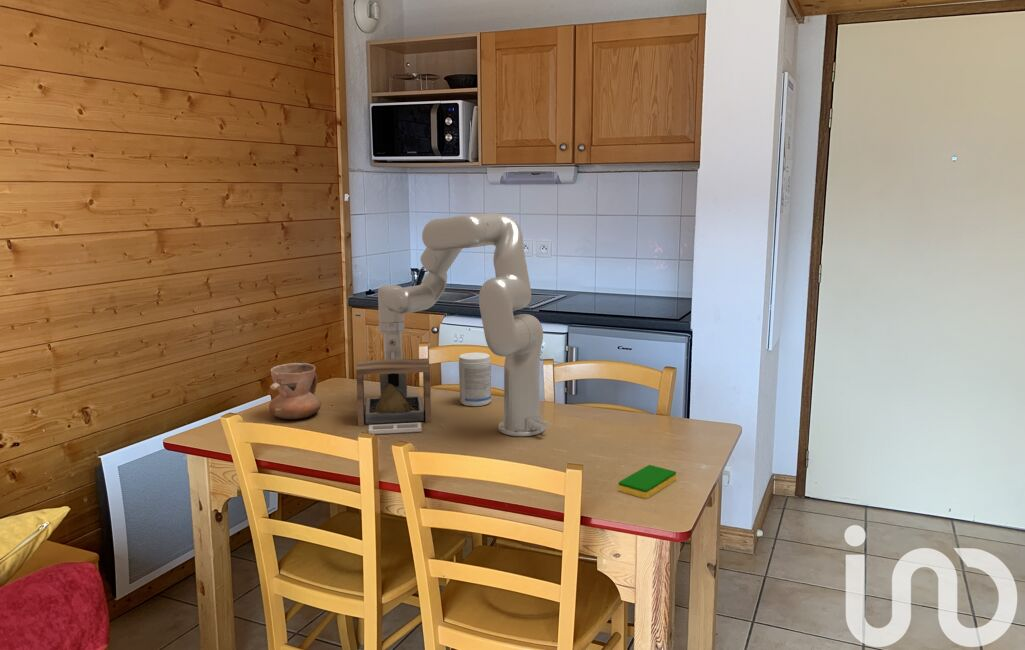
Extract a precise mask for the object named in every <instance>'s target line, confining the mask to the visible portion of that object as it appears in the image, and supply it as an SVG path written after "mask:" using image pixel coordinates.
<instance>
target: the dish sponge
mask: <svg viewBox="0 0 1025 650" xmlns="http://www.w3.org/2000/svg"><path fill="white" fill-rule="evenodd" d="M675 481H677V472H676V471H674V470H672V469H667V468H665V467H664V468H663V467H660V466H655V465H651V464H648V465H646V466H644V467H643V468H641V469H639V470H637V471H635V472H634V473H632V474H631V475H629V476H627V477H625V478H624V479H622V480H620V481H618V487H617V488H618V492H621V493H624V494H628V495H631V496H635V497H639V498H642V499H646V500H647V499H648V498H650V497H652V496H653V495H655V494H656V493H658V492H659V491H661V490H663V489H664V488H666V487H667V486H669V485H670V484H672V483H674V482H675Z"/></svg>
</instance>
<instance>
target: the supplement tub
mask: <svg viewBox="0 0 1025 650" xmlns="http://www.w3.org/2000/svg"><path fill="white" fill-rule="evenodd" d="M490 356H491V355H490V354H488V353H486V352H467V353H462V354H460V355H459V357H458V359H459V360H458V374H459V376H458V377H459V378H458V379H459V381H458V383H459V402H460V404H462V405H463V406H468V407H481V406H486V405H488V404H490V403H491V402H492V375H491V374H492V370H491V369H492V366H491V365H492V364H491V357H490Z"/></svg>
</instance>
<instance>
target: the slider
mask: <svg viewBox="0 0 1025 650" xmlns="http://www.w3.org/2000/svg"><path fill="white" fill-rule="evenodd" d="M379 379H380V380H379V381H380V382H379V383H380V384H379V385H380V386H379V387H380V394H381V393H382V392H383V389H384V388H385V386H386V384H387V383H388V374H379ZM407 381H408V380H407V373H399V386H398V387H396V388H397V389H398V390H399V391H400V392H401V393H402V394H403V395H404V396H405V398H406V399H407V400H408V401H409V403H410V406H411V407H415V406H416V407H417V408H418V410H413V411H402V412H381V413H375V412H371V409H376V405H377V404H378V402H379V399H380V397H366V403H365V424H368V425H370V424H390V423H407V422H408V423H410V422H424V421H425V415H424V404H423V400H422V395H412V396H409V395H408V384H407Z"/></svg>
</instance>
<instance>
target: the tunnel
mask: <svg viewBox="0 0 1025 650" xmlns="http://www.w3.org/2000/svg"><path fill="white" fill-rule="evenodd" d="M355 371H356V373H355V374H356V377H355V378H356V397H357V399H356V401H357V402H356V403H357V420H358V421H357V422H358V424H357V425H358V427H359V426H360V427H361V426H365V420H366V416H365V413H366V405H365V387H364V385H365V383H364V375H380V374H391V373H406V374H411V373H417V374H418V373H422V378H423V379H422V382H423V383H422V384H423V385H422V386H423V387H422V388H423V390H422V391H423V411H424V421H425V423H432V408H431V405H432V402H431V401H432V399H431V397H432V396H431V395H432V394H431V365H430V362H429V358H428V357H427V358H405V359H403V358H402V359H400V360H385V359H381V360H379V359H376V360H375V359H374V360H373V359H372V360H357V363H356V368H355Z"/></svg>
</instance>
